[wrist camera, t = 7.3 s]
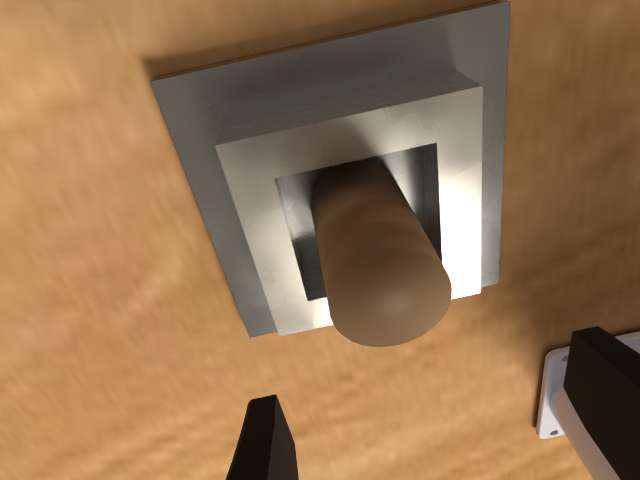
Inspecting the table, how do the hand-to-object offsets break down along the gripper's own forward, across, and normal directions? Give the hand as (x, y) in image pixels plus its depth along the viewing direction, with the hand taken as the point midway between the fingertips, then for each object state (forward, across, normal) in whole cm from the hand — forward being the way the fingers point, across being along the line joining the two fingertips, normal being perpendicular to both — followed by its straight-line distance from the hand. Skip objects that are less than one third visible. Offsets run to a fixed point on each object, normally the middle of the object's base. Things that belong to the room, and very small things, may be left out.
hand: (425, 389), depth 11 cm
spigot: (+9, 0, -1) cm, 9 cm away
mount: (+9, 0, -1) cm, 9 cm away
